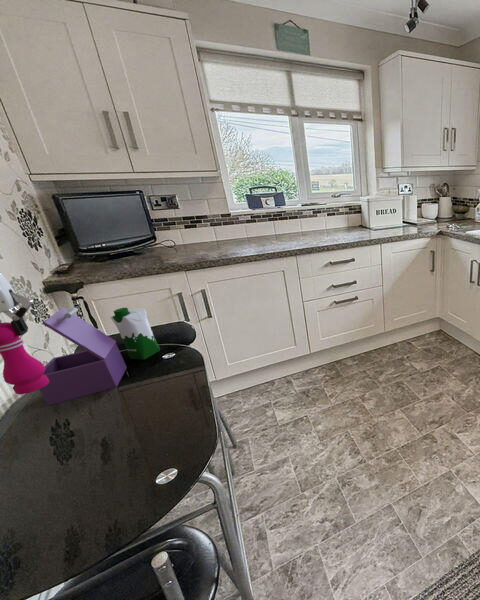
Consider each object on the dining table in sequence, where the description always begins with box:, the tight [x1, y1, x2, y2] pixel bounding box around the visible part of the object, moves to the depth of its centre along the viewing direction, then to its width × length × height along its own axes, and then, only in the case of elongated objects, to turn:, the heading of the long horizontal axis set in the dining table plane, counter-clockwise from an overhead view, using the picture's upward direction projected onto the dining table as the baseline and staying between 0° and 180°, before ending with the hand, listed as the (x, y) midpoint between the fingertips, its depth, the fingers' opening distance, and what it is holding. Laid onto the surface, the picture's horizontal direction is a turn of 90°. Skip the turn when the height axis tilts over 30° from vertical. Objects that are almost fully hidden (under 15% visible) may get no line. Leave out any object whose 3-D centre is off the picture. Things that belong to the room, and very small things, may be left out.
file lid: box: [41, 307, 117, 360], centre depth 105 cm, size 18×14×5 cm
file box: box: [38, 343, 128, 407], centre depth 108 cm, size 17×14×10 cm
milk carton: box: [109, 307, 161, 361], centre depth 124 cm, size 9×9×20 cm
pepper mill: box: [0, 318, 49, 395], centre depth 82 cm, size 7×7×20 cm
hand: (4, 336), depth 81 cm, fingers closed on pepper mill, 6 cm apart
